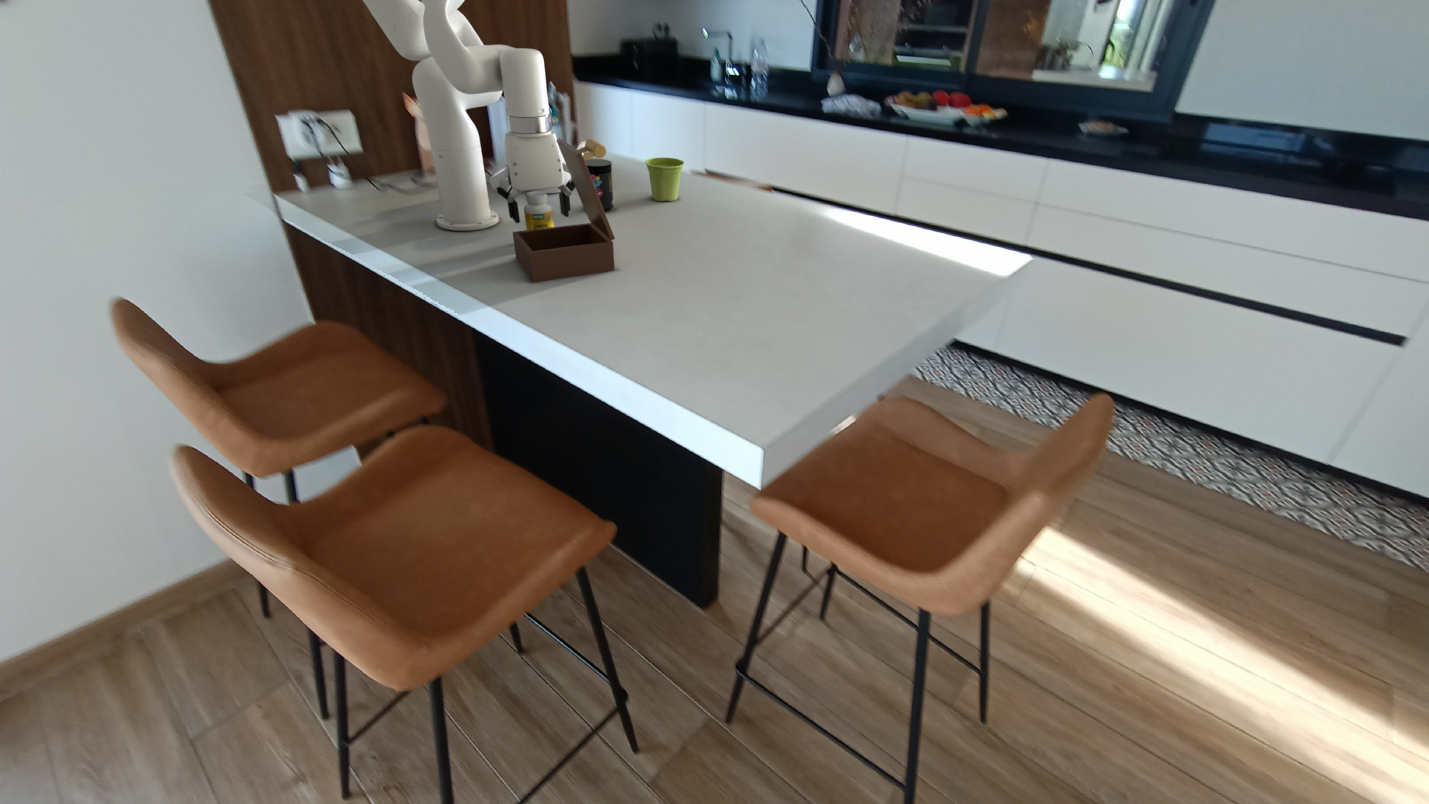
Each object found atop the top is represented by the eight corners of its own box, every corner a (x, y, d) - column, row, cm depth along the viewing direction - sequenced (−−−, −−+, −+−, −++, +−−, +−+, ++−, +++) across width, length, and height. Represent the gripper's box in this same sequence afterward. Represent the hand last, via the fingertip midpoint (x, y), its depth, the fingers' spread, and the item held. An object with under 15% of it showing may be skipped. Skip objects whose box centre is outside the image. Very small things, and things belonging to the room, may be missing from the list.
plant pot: (691, 197, 163) (692, 161, 159) (669, 206, 157) (669, 168, 152) (661, 191, 167) (660, 155, 163) (638, 199, 161) (637, 162, 156)
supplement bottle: (549, 236, 136) (544, 188, 130) (559, 243, 132) (555, 195, 127) (524, 240, 133) (518, 192, 128) (533, 248, 129) (527, 199, 124)
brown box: (532, 282, 115) (529, 253, 112) (516, 259, 124) (512, 231, 121) (614, 270, 121) (613, 242, 118) (593, 249, 130) (591, 222, 127)
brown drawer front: (577, 154, 108) (608, 140, 109) (556, 139, 117) (585, 127, 118) (611, 240, 118) (639, 227, 119) (589, 221, 127) (615, 208, 128)
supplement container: (582, 205, 154) (578, 159, 149) (610, 204, 156) (608, 158, 151) (587, 214, 149) (584, 166, 143) (616, 212, 151) (614, 165, 145)
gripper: (569, 119, 127) (577, 208, 136) (477, 124, 120) (492, 218, 129) (581, 125, 121) (589, 218, 130) (485, 131, 114) (500, 229, 123)
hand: (541, 218), depth 130 cm, fingers open, 9 cm apart
